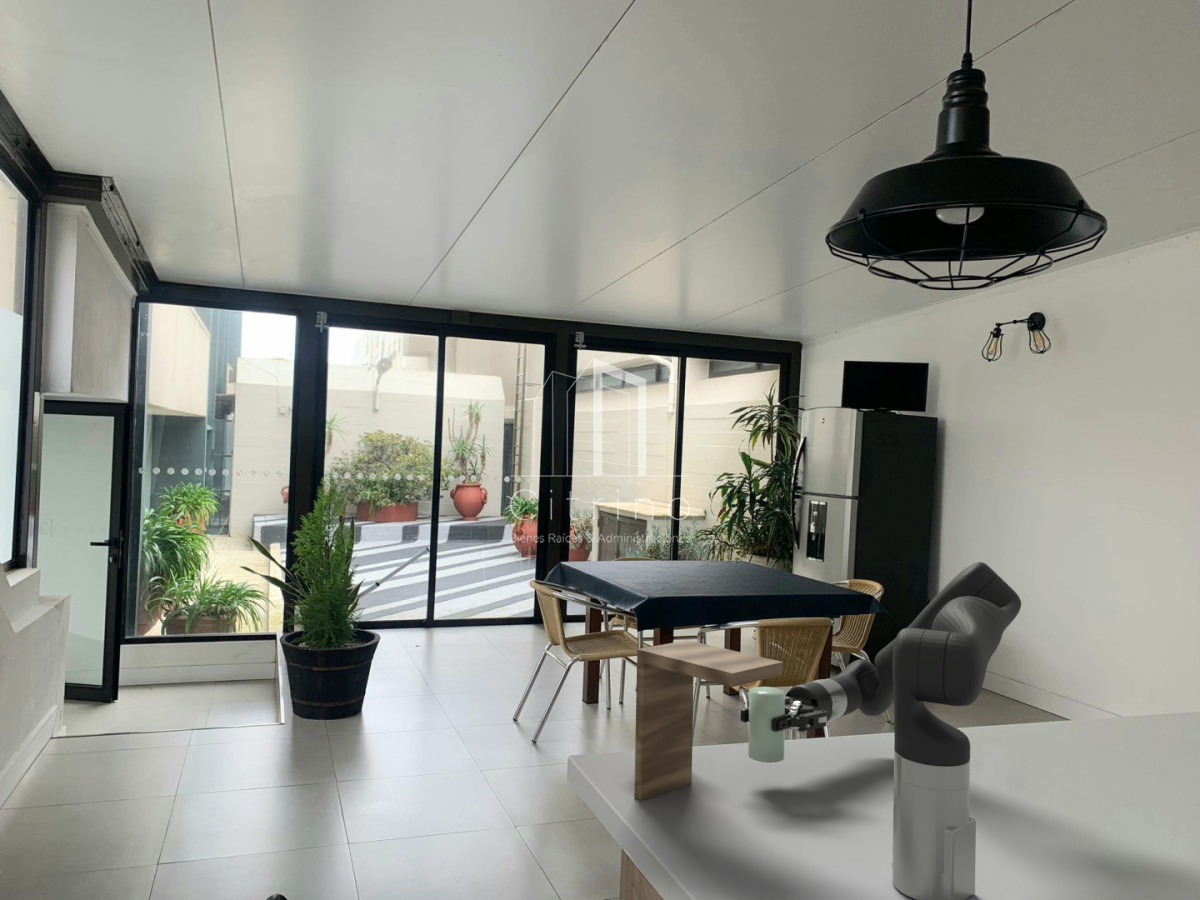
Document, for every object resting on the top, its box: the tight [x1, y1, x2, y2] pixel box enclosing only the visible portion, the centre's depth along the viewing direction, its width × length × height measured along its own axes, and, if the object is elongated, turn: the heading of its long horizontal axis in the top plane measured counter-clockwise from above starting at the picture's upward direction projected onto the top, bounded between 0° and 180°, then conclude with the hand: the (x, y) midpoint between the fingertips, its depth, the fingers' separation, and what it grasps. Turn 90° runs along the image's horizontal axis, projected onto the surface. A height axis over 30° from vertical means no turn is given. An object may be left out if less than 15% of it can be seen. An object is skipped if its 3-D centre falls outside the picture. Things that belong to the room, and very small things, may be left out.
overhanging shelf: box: [633, 639, 784, 801], centre depth 139 cm, size 20×12×24 cm, turn 41°
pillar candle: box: [747, 686, 786, 764], centre depth 149 cm, size 6×6×11 cm
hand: (757, 720), depth 147 cm, fingers closed on pillar candle, 6 cm apart
